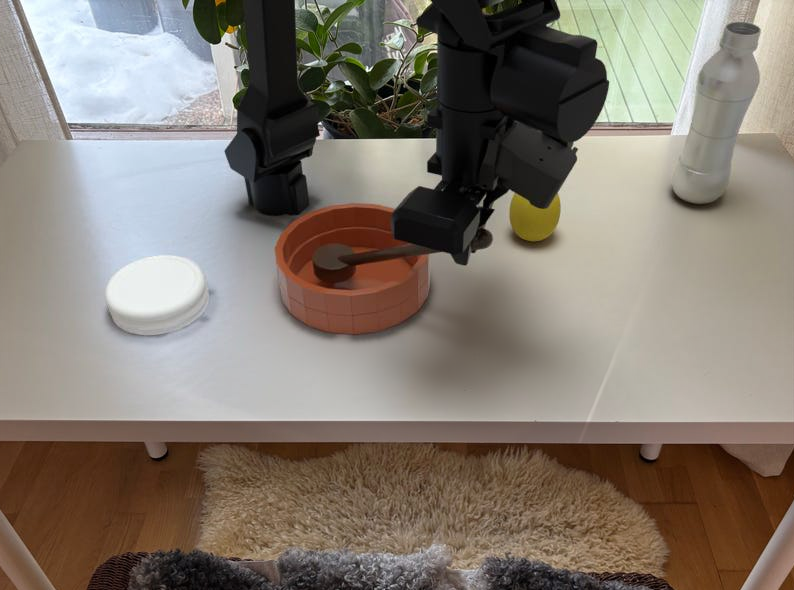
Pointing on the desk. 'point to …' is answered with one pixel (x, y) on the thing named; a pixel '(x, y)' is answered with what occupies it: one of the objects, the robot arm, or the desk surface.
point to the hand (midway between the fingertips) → (465, 257)
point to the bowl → (370, 285)
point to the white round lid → (157, 295)
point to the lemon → (533, 218)
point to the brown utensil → (372, 257)
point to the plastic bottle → (718, 115)
